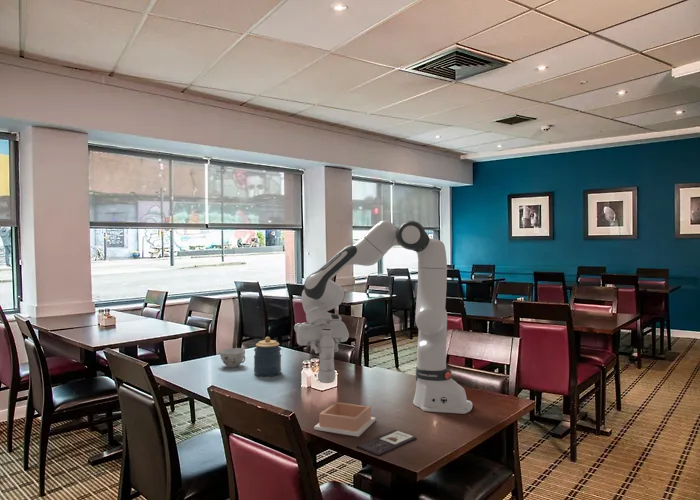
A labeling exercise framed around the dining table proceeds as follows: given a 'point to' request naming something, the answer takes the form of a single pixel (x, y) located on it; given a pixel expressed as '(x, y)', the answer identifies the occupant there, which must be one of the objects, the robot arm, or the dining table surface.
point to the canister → (267, 358)
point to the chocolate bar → (386, 442)
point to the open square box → (345, 419)
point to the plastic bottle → (326, 357)
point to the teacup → (233, 356)
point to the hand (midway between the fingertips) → (327, 351)
